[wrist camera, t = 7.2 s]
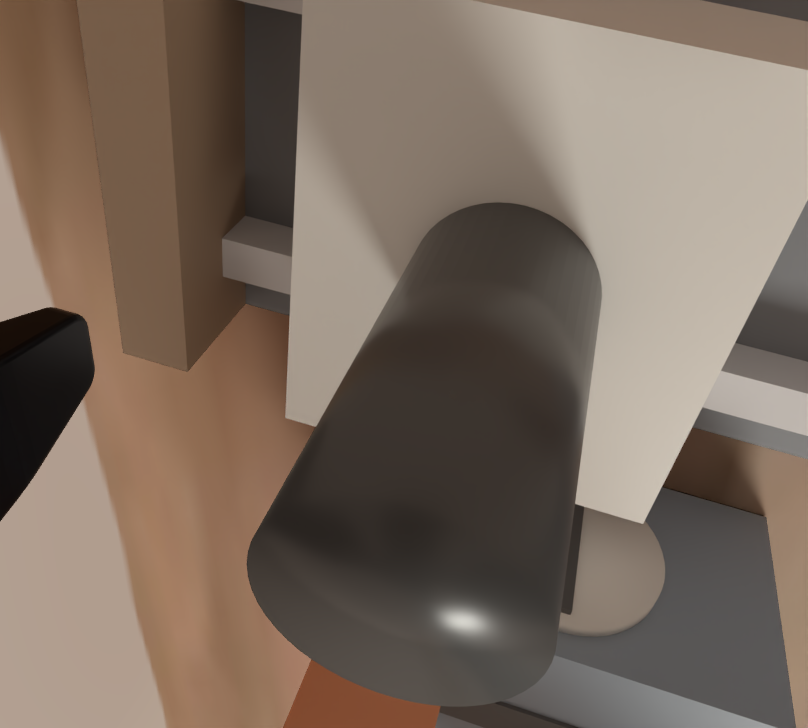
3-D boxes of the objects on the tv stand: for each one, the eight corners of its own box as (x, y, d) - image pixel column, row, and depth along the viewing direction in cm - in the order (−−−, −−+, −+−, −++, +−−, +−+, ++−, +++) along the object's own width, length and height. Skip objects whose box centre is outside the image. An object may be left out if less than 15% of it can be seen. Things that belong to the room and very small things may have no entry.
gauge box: (684, 641, 24) (688, 850, 19) (382, 545, 25) (315, 718, 20) (775, 503, 19) (809, 726, 15) (407, 398, 21) (332, 570, 16)
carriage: (646, 420, 16) (631, 891, 9) (337, 334, 17) (108, 700, 10) (824, 25, 11) (1097, 395, 4) (374, -65, 12) (-32, 110, 5)
